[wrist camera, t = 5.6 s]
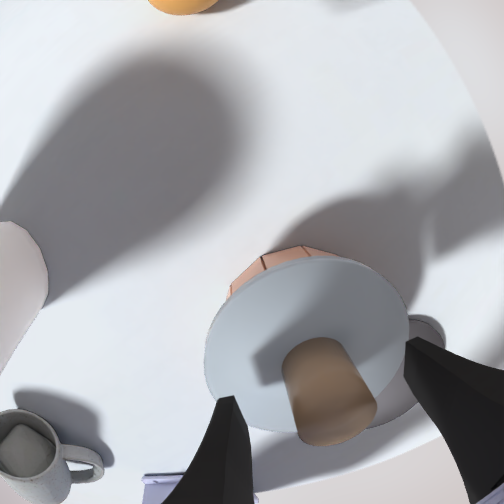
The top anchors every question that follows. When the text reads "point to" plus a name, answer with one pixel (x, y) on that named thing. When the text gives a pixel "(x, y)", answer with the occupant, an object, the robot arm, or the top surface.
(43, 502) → the ceramic mug
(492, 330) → the top surface
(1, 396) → the top surface
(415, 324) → the mat
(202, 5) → the figurine
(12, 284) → the foam cup
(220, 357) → the lid
